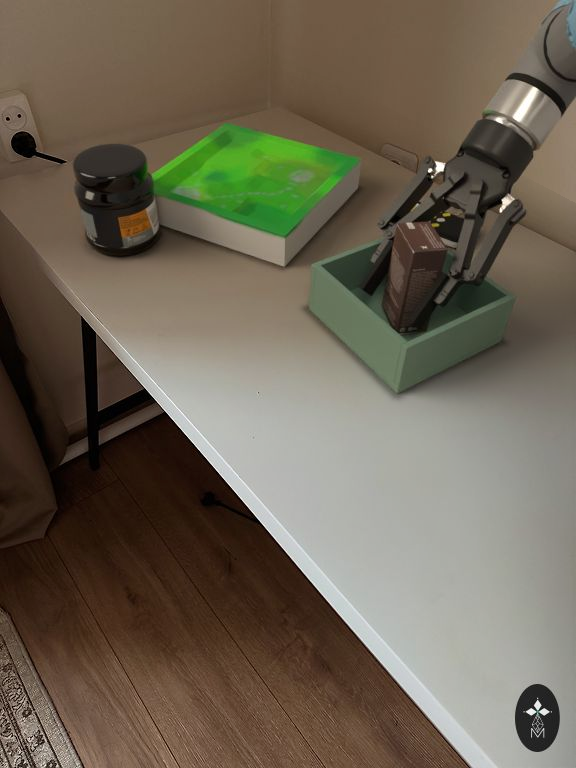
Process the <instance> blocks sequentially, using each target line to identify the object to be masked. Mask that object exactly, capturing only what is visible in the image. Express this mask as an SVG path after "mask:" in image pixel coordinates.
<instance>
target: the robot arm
mask: <svg viewBox="0 0 576 768" xmlns="http://www.w3.org/2000/svg"><path fill="white" fill-rule="evenodd" d="M540 24H541V25H540V27H539V29H538V31H537V32H536V34H535V35H534V36H533V38H532V39H531V41H530V42H529V44H528V46H527V47H526V49H525V50H524V51H523V53H522V55H520V58H519V59H518V60H517V62H516V64H515V65H514V67H513V68H512V70H511V71H510V73H509V75H508V76H507V77H506V78H505V80H504V81H503V82H502V84H501V85H500V87H499V88H498V90H497V91H496V92H495V94H494V95H493V97H492V98H491V100H490V101H489V103H488V104H487V105H486V106H485V108H484V110H483V111H482V113H481V117H482V118H481V119H479V120H476V122H475V123H474V125H472V128H471V129H470V131H468V134H467V135H466V137H465V138H464V139H463V141H462V143H461V144H460V146H459V148H458V151H457V153H455V156H453V157H452V158H451V159H449V160H448V161H446V162H441V161H437V160H434V158H432V156H430V155H427V156H425V157H423V159H422V161H421V163H420V166H419V168H418V171H417V173H416V174H415V175H414V176H413V178H412V179H411V180H410V181H409V183H408V184H407V185H406V186H405V187H404V189H403V190H402V191H401V192H400V193H399V194H398V196H397V197H396V198H395V199H394V201H393V202H392V203H391V204H390V205H389V207H388V208H387V209H386V210H385V211H384V213H383V214H382V215H381V216H380V217H379V218H378V220H377V221H376V225H377V227H378V228H379V229H380V232H382V234H383V237H384V239H383V241H382V242H381V244H380V245H379V247H378V248H377V250H376V251H375V253H374V254H373V255H372V257H371V262H372V263H374V264H373V265H372V267H371V268H370V270H369V271H368V273H367V274H366V276H365V277H364V279H363V280H362V282H361V283H360V285H359V286H358V287H359V288H360V289H362V290H363V291H365V292H366V293H368V294H369V295H371V296H372V295H373V293H374V292H375V291H376V289H377V288H378V286H379V285H380V283H381V282H382V280H383V279H384V277H385V276H386V274H387V273H388V268H389V263H390V258H391V253H392V247H393V242H394V237H395V232H396V227H397V224H398V223H413V222H429V221H430V220H432V219H433V218H434V217H435V216H437V215H438V214H439V213H440V212H442V211H445V212H447V211H448V210H449V209H451V208H454V209H456V210H460V211H462V212H463V213H464V215H463V217H464V223H463V226H462V230H461V234H460V237H459V241H458V244H457V248H455V252H454V253H455V255H454V258H453V262H452V266H451V269H450V270H448V274H449V276H448V275H447V274H445V273H443V272H441V273H440V275H439V276H438V278H437V279H436V280H435V282H434V283H433V285H432V286H431V288H430V289H429V290H428V292H427V293H426V295H425V296H424V298H423V299H422V300H421V302H420V303H419V305H418V306H417V308H416V309H415V310H414V312H413V313H412V315H411V316H410V318H409V319H408V321H410V322H411V323H413V324H414V325H416V326H417V327H418V328H420V329H421V328H422V327H423V325H424V324H425V322H426V321H427V320H428V318H429V317H430V315H431V314H432V313H433V311H434V310H435V308H436V307H437V305H440V306H441V307H444V306H445V305H447V304H448V302H449V301H450V299H451V298H452V296H453V295H454V294H455V292H456V291H457V289H458V288H459V287H460V286H461V285H463V284H470V285H474V286H476V287H478V286H480V285H481V284H482V283H483V281H484V279H485V277H486V276H488V274H489V272H490V271H491V268H492V266H493V265H494V263H495V260H496V259H497V257H498V255H499V253H500V252H501V250H502V248H503V246H504V245H505V243H506V241H507V239H508V238H509V235H510V234H511V232H512V230H513V228H514V227H515V226H516V225H517V224H518V223H519V222H520V221H522V219H523V218H524V217H526V215H527V209H526V207H525V205H524V204H523V201H522V200H521V199H519V198H516V199H515V197H513V195H511V193H512V188H513V186H514V184H516V183H517V182H518V180H519V179H520V177H521V176H522V175H523V173H524V172H525V170H526V169H527V168H528V166H529V165H530V163H531V162H532V160H533V159H534V152H536V151H538V150H540V148H542V146H543V145H544V143H545V142H546V140H547V139H548V137H549V136H550V134H551V133H552V131H553V130H554V129H555V127H556V126H557V124H558V123H559V121H561V119H562V117H564V114H565V113H566V112H567V110H568V109H569V108H570V106H571V104H573V102H574V100H575V99H576V0H558V2H557V3H556V5H555V6H554V7H553V8H552V9H551V11H549V13H548V14H547V15H546V16H545V17H544V19H543V20H542V22H541V23H540ZM441 176H442V183H440V184H438V186H437V187H436V188H434V189H432V191H431V192H430V194H429V196H428V197H426V199H424V200H423V201H421V200H422V198H423V197H424V196H425V195H426V194H427V193H428V191H429V190H430V189H431V187H432V186H433V184H434V182H438V181H439V180H440V177H441ZM418 202H421V204H419V205H418V206H417V207H416V208H414V207H415V205H416V204H417V203H418ZM499 206H500V208H499V214H498V216H497V217H496V219H495V220H494V222H493V224H492V225H491V227H490V230H489V231H488V234H487V235H486V237H485V238H484V240H483V242H482V244H481V246H480V248H479V250H478V251H477V253H476V255H475V257H474V253H475V249H476V246H477V243H478V239H479V235H480V232H481V228H483V226H484V223H485V220H486V216H487V213H488V211H490V210H492V209H494V208H496V207H499ZM413 208H414V209H413ZM412 209H413V210H412ZM411 210H412V211H411ZM410 211H411V212H410ZM473 257H474V259H473ZM470 264H471V266H470Z"/></svg>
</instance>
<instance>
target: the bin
mask: <svg viewBox="0 0 576 768" xmlns="http://www.w3.org/2000/svg"><path fill="white" fill-rule="evenodd" d="M383 239H384V236H383V237H381V238H378V239H374V240H372V241H369V242H367V243H364V244H362V245H360V246H357V247H354V248H351V249H349V250H346V251H343V252H340V253H338V254H335V255H332V256H330V257H327V258H325V259H322V260H318V261H317V262H314V263H311V269H310V270H311V273H310V285H309V286H310V287H309V289H310V290H309V303H308V309H309V311H310V312H311V313H312V314H314V315H315V316H316V317H317V318H318V319H319V320H320V321H321V322H322V323H323V324H324V325H325V326H326V327H327V328H328V329H329V330H330V331H331V332H333V334H334V335H335V336H336V337H338V338H339V339H340V341H341V342H343V343H344V344H345V345H346V346H347V347H348V348H349V349H350V350H351V351H352V352H353V353H354V354H355V355H356V356H357V357H358V358H359V359H360V360H361V361H362V362H364V363H365V364H366V365H367V366H368V367H369V369H371V371H373V372H374V373H375V374H376V375H377V376H378V377H379V378H380V379H381V380H382V381H383V382H384V383H385V384H387V386H388V387H390V388H391V390H393V391H394V392H395V393H396V394H400V393H401V392H403V391H405V390H407V389H410V388H412V387H413V386H415V385H418V384H419V383H421V382H423V381H425V380H427V379H430V378H431V377H433V376H435V375H438V374H440V373H441V372H443V371H446V370H447V369H449V368H451V367H453V366H455V365H457V364H459V363H461V362H463V361H465V360H467V359H469V358H471V357H474V356H475V355H477V354H479V353H481V352H483V351H485V350H487V349H489V348H490V347H491V348H492V347H493V346H495V345H497V344H499V343H501V341H502V338H503V335H504V333H505V330H506V327H507V325H508V322H509V319H510V316H511V313H512V310H513V308H514V305H515V302H516V299H517V296H516V295H514V294H513V293H512V292H510V291H509V290H508V289H506V288H505V287H503V286H502V285H501V284H499V283H497V282H496V281H494V280H493V279H492V278H490V277H489V276H488V275H486V277H485V279H484V281H483V283H482V284H481V285H480V286H478V287H476V286H474V285H470V284H463V285H461V286H460V287H459V288H458V289H457V291H456V292H455V294H454V295H453V296H452V298H451V299H450V301H449V302H448V304H447V305H445V306H444V307H441V306H440V305H437V307H436V308H435V310H434V311H433V313H432V314H431V316H430V320H429V324H428V328H427V331H425V332H420V333H412V334H403V335H399V334H398V333H397V332H396V331H395V330H394V329H393V328H392V327H391V325H390V323H389V321H388V319H387V316H386V314H385V312H384V310H383V308H382V300H383V295H384V289H385V284H386V279H387V274H386V276H385V277H384V279H383V280H382V282H381V283H380V285H379V286H378V288H377V289H376V291H375V292H374V293H373V295H372V296H371V295H369V294H368V293H366V292H365V291H363V290H362V289H360V288H359V287H358V286H359V285H360V283H361V282H362V280H363V279H364V277H365V276H366V274H367V273H368V271H369V270H370V268H371V267H372V265H373V264H374V263H372V262H371V257H372V255H373V254H374V253H375V251H376V250H377V248H378V247H379V245H380V244H381V242H382V241H383ZM447 249H448V251H447V254H446V258H445V262H444V265H443V270H442V272H443V273H445V274H447V275H448V276H449V274H448V270H450V269H451V266H452V262H453V258H454V255H455V252H454V251H453V250H451V249H449V247H447ZM471 264H472V263H471ZM471 264H470V266H471Z"/></svg>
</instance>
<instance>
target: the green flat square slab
mask: <svg viewBox="0 0 576 768" xmlns="http://www.w3.org/2000/svg"><path fill="white" fill-rule="evenodd" d="M361 164H362V158H359V157H357V156H352V155H348V154H344V153H341V152H337V151H333V150H329V149H325V148H323V147H318V146H314V145H312V144H311V145H310V144H307V143H303V142H299V141H296V140H293V139H288V138H285V137H281V136H277V135H274V134H269V133H267V132H266V133H265V132H263V131H258V130H254V129H251V128H248V127H243V126H239V125H236V124H232V123H228V122H225V123H224V124H222V125H221V126H220V127H217V129H215V130H213V131H212V132H211V133H209V134H208V135H206V136H205V137H204V138H202V139H201V140H200V141H197V142H196V143H195V144H193V145H192V146H191V147H189V148H188V149H186V150H185V151H183V152H182V153H181V154H179V155H178V156H176V157H175V158H173V159H172V160H170V161H168V162H167V163H166V164H165V165H163V166H162V167H160V168H159V169H157V170H156V171H155V172H153V173H152V174H150V175H151V176H152V178H153V180H154V194H155V201H156V208H157V215H158V222H159V225H160V226H163V227H166V228H169V229H172V230H175V231H178V232H180V233H183V234H186V235H190V236H192V237H195V238H198V239H201V240H204V241H208V242H210V243H213V244H216V245H219V246H221V247H225V248H228V249H230V250H233V251H237V252H240V253H242V254H245V255H249V256H252V257H254V258H257V259H260V260H263V261H265V262H266V261H267V262H269V263H272V264H275V265H277V266H281V267H283V268H285V267H286V266H287V265H288V264H289V263H290V262H291V260H292V259H294V257H295V256H296V255H298V253H299V252H300V251H301V250H302V249H303V248H304V247H305V245H307V244H308V243H309V241H310V240H311V239H312V238H313V237H314V236H316V234H317V233H318V232H319V231H320V230H321V228H323V226H324V225H325V224H326V223H327V222H328V221H329V220H330V219H331V218H332V217H333V215H335V213H337V211H338V210H339V209H340V208H341V207H342V206H343V205H344V204H345V203H346V202H347V201H348V200H349V198H350V197H352V195H353V194H354V193H355V192H356V191H357V190H358V189H359V185H360V175H361V166H362V165H361Z"/></svg>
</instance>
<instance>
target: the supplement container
mask: <svg viewBox="0 0 576 768" xmlns="http://www.w3.org/2000/svg"><path fill="white" fill-rule="evenodd" d="M72 169H73V174H74V178H75V182H74V185H73V186H74V187H73V191H74V194H75V197H76V199H77V203H78V208H79V212H80V216H81V221H82V225H83V229H84V234H85V238H86V239H85V240H87V243H88V244H89V245H90V247H92V249H94V250H96V251H97V252H99V253H102V254H105V255H109V256H116V257H117V256H129V255H130V256H131V255H134V254H138V253H140V252H143V251H145V250H147V249H149V248H150V247H152V246H153V245H154V244H155V243H156V242H157V240H158V239H159V237H160V232H161V225H160V224H159V222H158V215H157V208H156V201H155V194H154V180H153V178H152V176H151V175H152V174H151V173H150V172H149V165H148V159H147V156H146V154H145V152H143V151H142V150H141V149H140V148H138V147H135V146H133V145H130V144H124V143H105V144H99V145H94V146H92V147H88V148H87V149H84V150H82V151H80V152H79V153H77V155H76V156H75V157H74V159H72Z"/></svg>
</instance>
